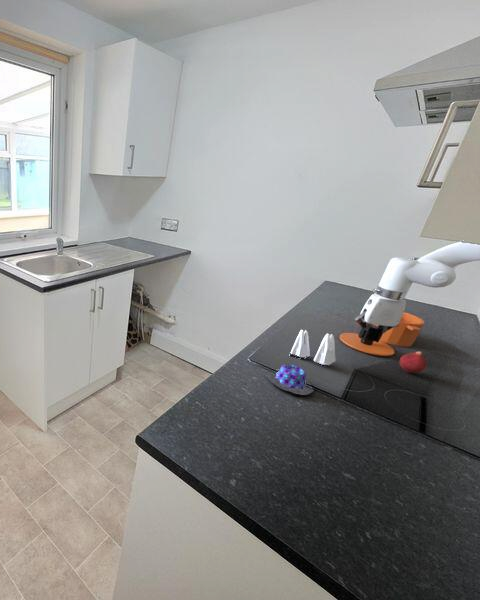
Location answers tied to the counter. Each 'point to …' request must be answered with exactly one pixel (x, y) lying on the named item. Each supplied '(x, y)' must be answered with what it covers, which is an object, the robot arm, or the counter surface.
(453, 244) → the robot arm
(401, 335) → the pot
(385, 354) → the pot lid
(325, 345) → the shaker set
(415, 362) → the onion
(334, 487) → the counter surface
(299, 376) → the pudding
